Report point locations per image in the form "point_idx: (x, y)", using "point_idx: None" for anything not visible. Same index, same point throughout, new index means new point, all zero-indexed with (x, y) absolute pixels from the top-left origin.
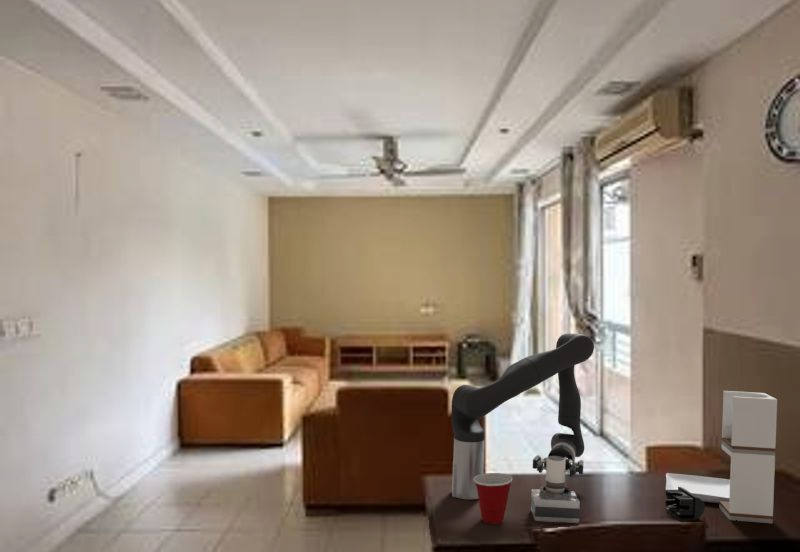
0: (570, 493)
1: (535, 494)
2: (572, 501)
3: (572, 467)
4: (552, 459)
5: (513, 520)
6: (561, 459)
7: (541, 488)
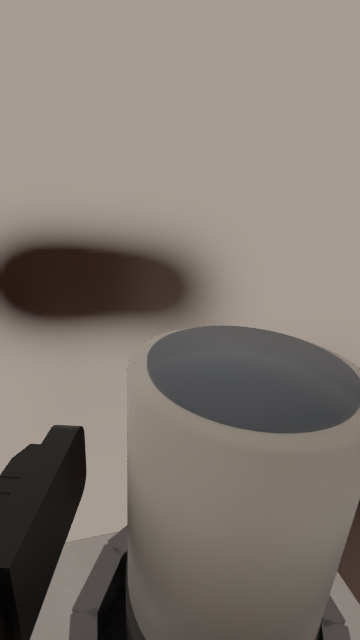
0: (78, 604)
1: (339, 593)
2: (82, 541)
3: (31, 471)
4: (262, 331)
5: (348, 546)
6: (176, 340)
7: (325, 609)
